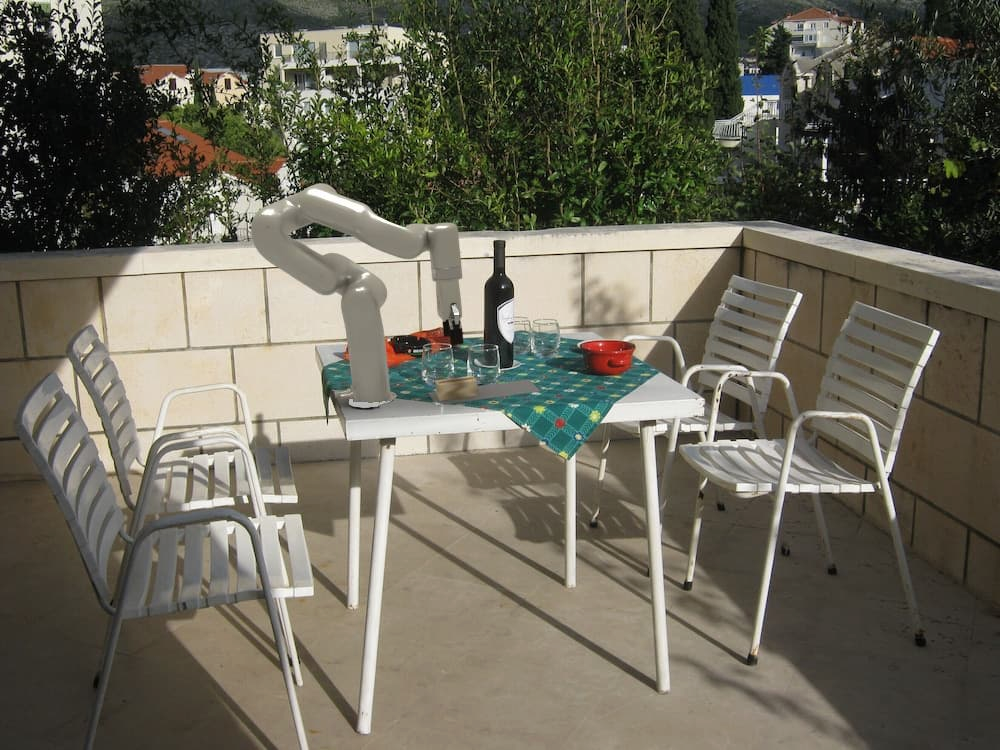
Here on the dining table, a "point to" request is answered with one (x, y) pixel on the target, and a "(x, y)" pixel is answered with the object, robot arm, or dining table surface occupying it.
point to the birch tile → (456, 388)
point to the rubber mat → (494, 391)
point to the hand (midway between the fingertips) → (453, 340)
